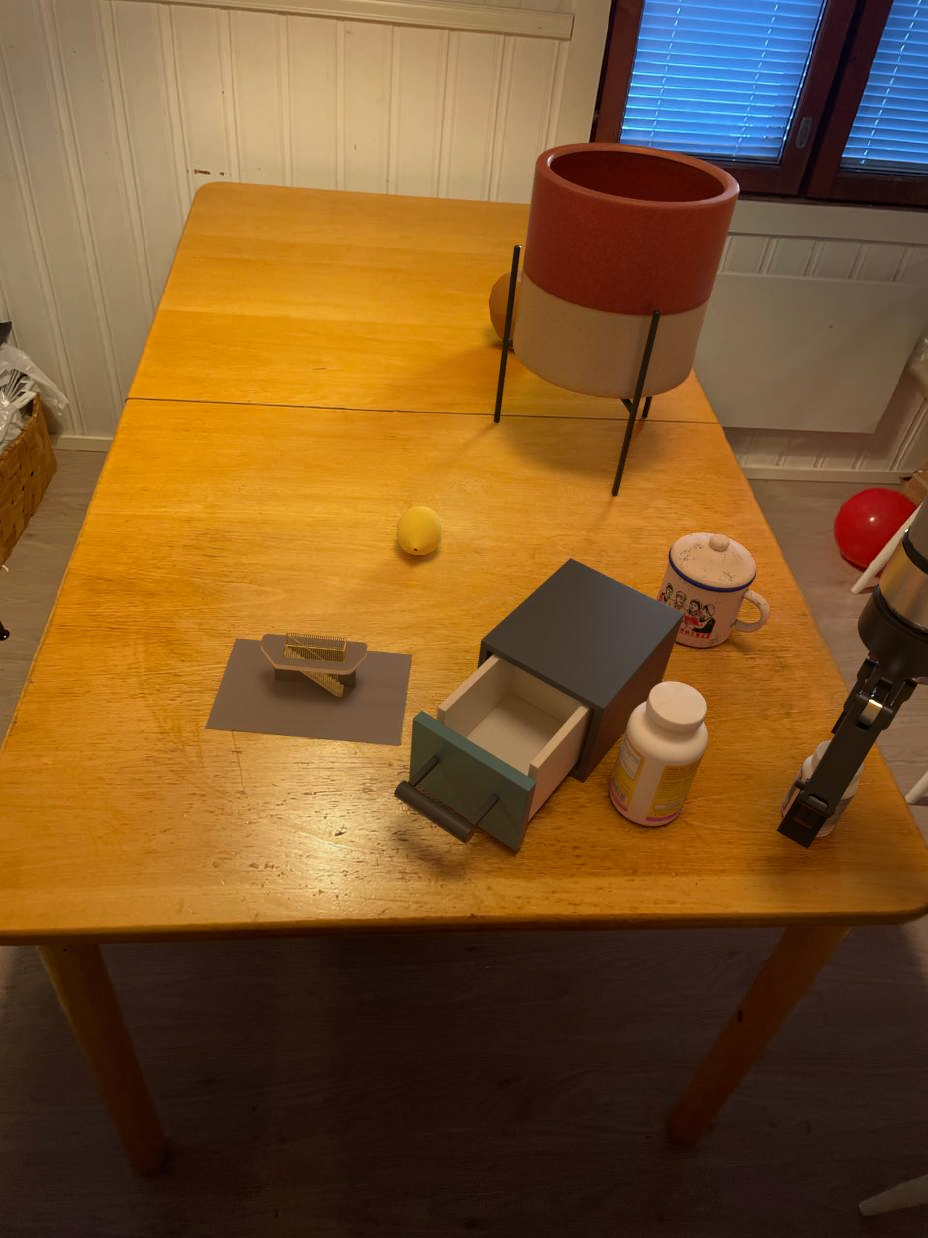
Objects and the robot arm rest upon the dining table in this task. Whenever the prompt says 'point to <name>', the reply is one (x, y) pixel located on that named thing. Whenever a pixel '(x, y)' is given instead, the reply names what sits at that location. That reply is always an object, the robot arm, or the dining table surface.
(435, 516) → the lemon
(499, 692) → the teal drawer
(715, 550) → the teacup with lid
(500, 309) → the apple
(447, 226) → the dining table surface
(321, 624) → the dining table surface
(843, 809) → the pill bottle
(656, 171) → the planter
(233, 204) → the dining table surface
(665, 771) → the supplement bottle
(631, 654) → the drawer cabinet
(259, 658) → the platform
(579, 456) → the dining table surface
